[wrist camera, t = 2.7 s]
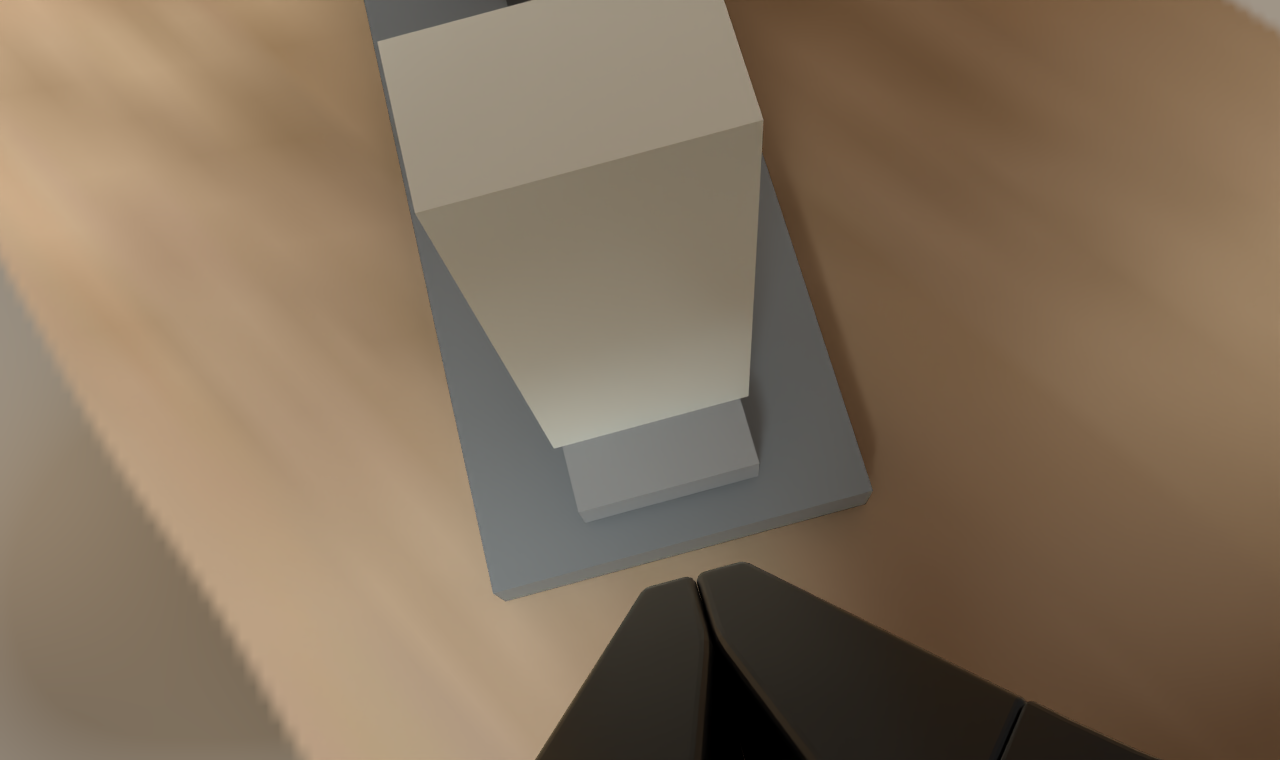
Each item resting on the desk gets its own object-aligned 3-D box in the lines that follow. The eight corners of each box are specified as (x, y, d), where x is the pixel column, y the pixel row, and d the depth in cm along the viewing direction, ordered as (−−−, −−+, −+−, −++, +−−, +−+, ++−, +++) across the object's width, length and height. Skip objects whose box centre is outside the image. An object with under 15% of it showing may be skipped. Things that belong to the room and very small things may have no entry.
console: (865, 503, 22) (895, 450, 18) (505, 601, 22) (455, 569, 18) (650, -161, 27) (636, -318, 23) (354, -82, 27) (289, -226, 23)
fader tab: (766, 473, 21) (799, 228, 11) (577, 525, 21) (439, 325, 11) (700, 255, 22) (677, -140, 12) (523, 303, 22) (356, -54, 12)
